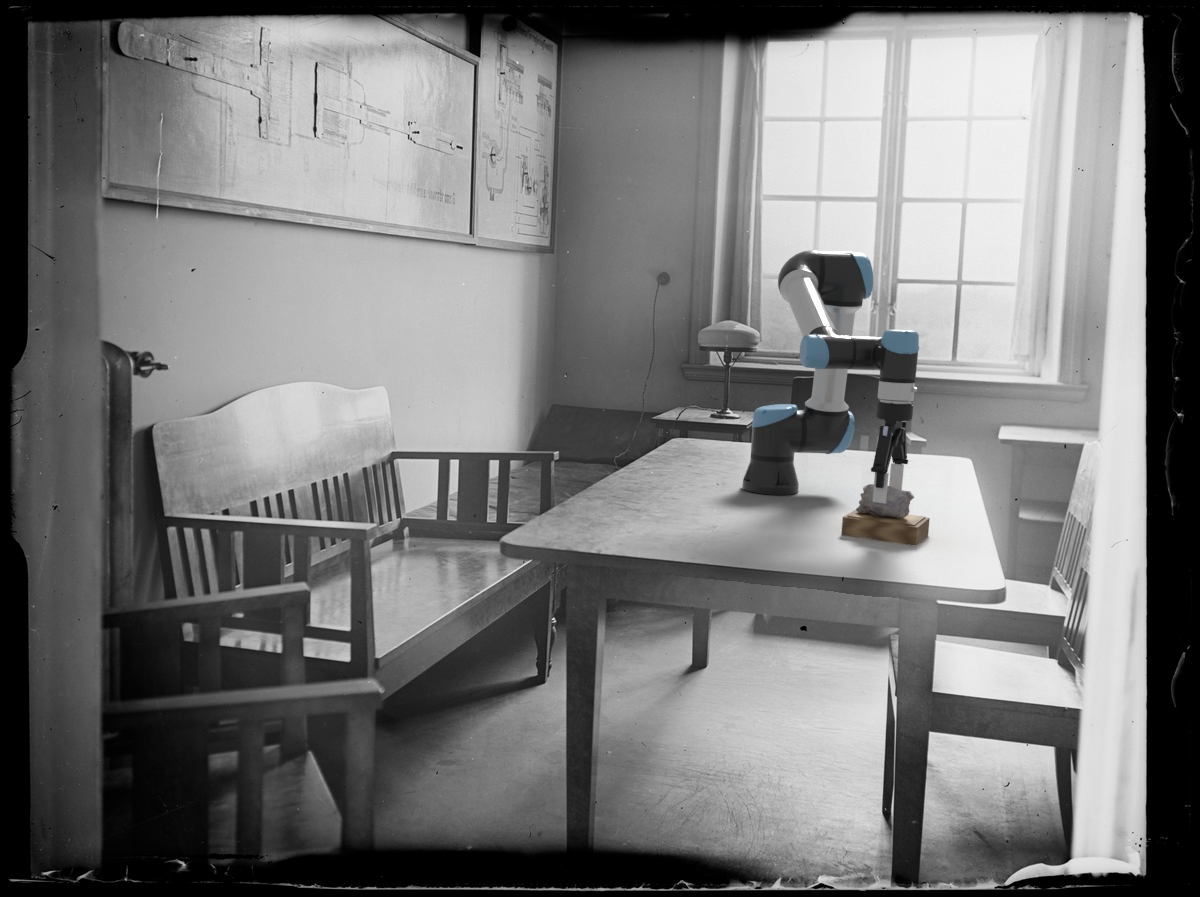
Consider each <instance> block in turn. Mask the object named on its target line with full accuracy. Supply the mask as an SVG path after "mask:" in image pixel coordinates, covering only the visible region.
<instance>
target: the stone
mask: <svg viewBox="0 0 1200 897" xmlns="http://www.w3.org/2000/svg"><path fill="white" fill-rule="evenodd" d="M862 490H863V492H861V493H860V497H861V499H860V500H859V501H858V504H859V505H858V506H857V508H855V510H856V511H858V512H859V513H862V514H868V513H874V514H877V515H879V516H882V517H897V518H904V517H906V516H907V515H908V514H909V515H910V505H911V501H912V500H913V499H915V496H914V495H913V494H912V493H913V492H911V491H910V490H903V489H902V490H898V489H895V488H893V487H891V486H889V485H888V487H887V499H886V503H878V502H873V491H874V483H872V484H871V483H870V484H866V485H864V486H863V487H862Z"/></svg>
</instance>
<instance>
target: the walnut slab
mask: <svg viewBox="0 0 1200 897" xmlns="http://www.w3.org/2000/svg"><path fill="white" fill-rule="evenodd" d="M930 520H931V518H930V517H926V516H923V515H922V516H921V515H914V514H910V513H909V514H908V515H907V516H906V517H904V518H897V517H882V516H879V515H877V514H874V513H868V514H862V513H859V512H858V511H856V509H854V510H852V511H851V512H848V513H847V514H845V515H843V516H842V524H841V535H842V536H847V537H852V538H853V537H854V538H859V539H860V538H861V539H868V540H872V541H873V540H874V541H881V542H888V543H893V544H901V545H906V546H907V545H908V546H915V547H917V545H918V544H920V543H921V542H922V541H924V540H925V539H927V537H928V536H929V529H930ZM918 546H919V545H918Z"/></svg>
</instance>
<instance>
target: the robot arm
mask: <svg viewBox="0 0 1200 897" xmlns="http://www.w3.org/2000/svg"><path fill="white" fill-rule="evenodd" d="M777 288H778V290H779V293H780V295H781V297H782V299H783V300H784V301H786V302H787V303H788V304H789V307H790V309H791V311H792V314H793V316H794V318H795V320H796V323H797V326H798V328H799V330H800V332H801V335H802V339H801V340H800V345H799V359H800V360H799V361H800V364H801V365H802V366H803V367H805V368H808V369H814V372H813V382H812V392H811V397H810V398H808V400H806V401H805V402H804V409H798V405H796V404H794V403H793V404H792V403H785V404H784V403H780V404H779V403H778V404H769V405H763V406H760V407H758V408H756V409H755V410H754V411H753V414H752V422H751V443H750V445H751V446H750V459H749V464H748V465H747V467H746V468H747V469H746V471H745V474H744V477H743V478H742V484H741V486H742V489H743V490H744V491H747V492H749V493H756V494H762V495H771V496H772V495H775V496H776V495H777V496H781V495H782V496H785V495H786V496H787V495H794V494H797V493H798V492H799V486H800V484H799V481H798V480H799V478H798V476H797V472H796V467H795V464H794V461H795V459H794V458H795V454H796V453H797V454H798V453H799V454H826V455H831V454H842V453H844V452H845V451H846V450H847V449H848V448H849V447H850V445H851V443H852V441H853V436H854V432H855V424H854V423H855V417H854V414H853V413H852V412H851V411H850V410H849V409H850V406H849V404H847V403H846V401H845V395H846V386H847V379H848V378H847V377H848V371H849V370H854V371H855V370H856V371H877V372H878V371H879V378H878V379H879V380H878V388H877V390H878V391H877V398H878V400H879V401H878V402H877V403H876V404H877V405H876V414H875V415H876V418H877V419H878V420H882V421H883V420H884V425H880V427H879V433H878V439H877V443H876V447H875V448H876V449H875V455H874V459H873V464H872V466H871V468H870V472H871V473H874V479H873V480H874V481H873V484H874V491H873V502H878V503H886V499H887V487H888V486H891V487H893V488H895V489H898V490H903V479H904V469H905V465H908V464H909V459H908V455H907V454H908V452H907V449H908V448H907V422H910V421H912V420H913V414H914V405H913V403H912V402H913V401H914V400H915V399H914V398H915V393H916V392H918V387H916V379H917V378H916V377H917V368H918V366H917V365H918V359H919V358H918V357H919V350H920V344H919V343H920V342H919V341H920V340H919V339H920V335H919V333H918V332H917V331H915V330H907V329H886V330H884V331H883V332H882V336H881V335H878V336H877V335H876V336H863V335H862V336H861V335H860V336H857V335H855V336H854V335H853V334H854V333H853V330H854V324H855V316H856V312H857V311H858V310H859V309H861V308H862V307H863V301H864V300H866V299H869V298H871V296H872V292H873V289H874V271H873V266H872V263H871V260H870V259H869V257H868V256H867V254H864V253H862V252H857V251H856V252H855V251H850V250H849V251H846V250H843V251H841V250H840V251H839V250H837V251H835V250H814V249H813V250H809V249H808V250H804V251H801V252H798V253H797V254H794V255H793V256H792V257H790V258H789V259H788V260H787V261H786V262H784V264H783V265H782V267H781V270H780V271H779V273H778V279H777ZM891 459H892V460H891ZM891 461H892V463H891ZM889 467H890V472H888V470H889Z"/></svg>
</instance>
